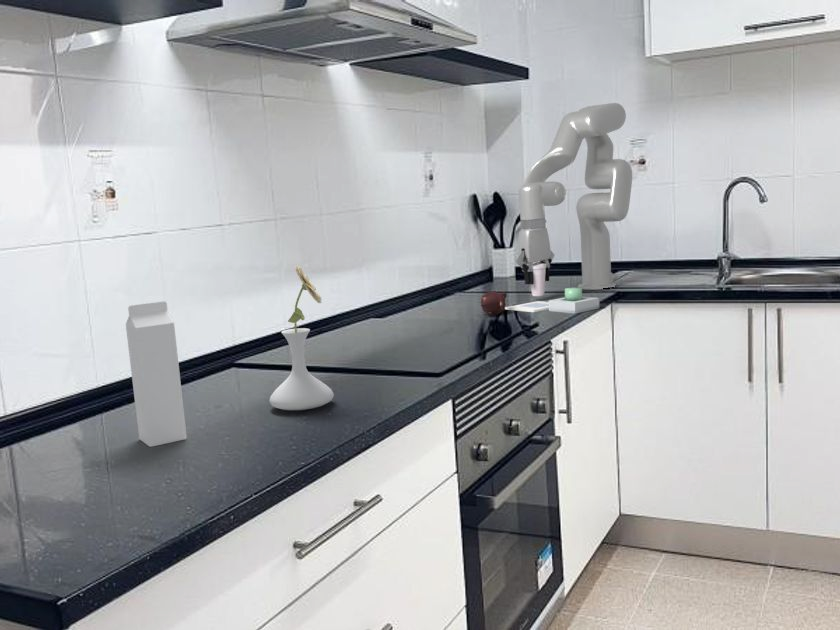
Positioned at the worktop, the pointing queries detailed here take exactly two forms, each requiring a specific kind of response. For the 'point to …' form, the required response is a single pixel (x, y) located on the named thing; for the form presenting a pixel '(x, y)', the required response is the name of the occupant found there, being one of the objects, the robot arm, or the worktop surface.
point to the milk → (155, 374)
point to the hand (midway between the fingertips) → (537, 281)
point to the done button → (573, 294)
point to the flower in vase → (300, 366)
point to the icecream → (493, 302)
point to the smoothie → (538, 279)
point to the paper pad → (530, 307)
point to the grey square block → (574, 305)
